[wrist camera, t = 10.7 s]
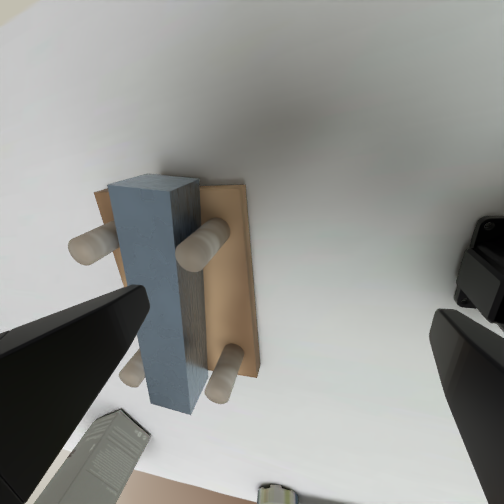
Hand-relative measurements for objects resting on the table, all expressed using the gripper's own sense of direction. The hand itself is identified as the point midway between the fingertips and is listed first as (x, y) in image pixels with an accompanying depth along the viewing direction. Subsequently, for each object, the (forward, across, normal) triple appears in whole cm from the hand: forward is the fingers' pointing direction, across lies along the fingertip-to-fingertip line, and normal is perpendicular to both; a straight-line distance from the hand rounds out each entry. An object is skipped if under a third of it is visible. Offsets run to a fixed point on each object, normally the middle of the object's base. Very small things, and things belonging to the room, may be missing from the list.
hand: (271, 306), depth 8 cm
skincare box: (+12, +26, +34) cm, 45 cm away
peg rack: (+12, +10, +8) cm, 17 cm away
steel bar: (+10, +10, +7) cm, 16 cm away
